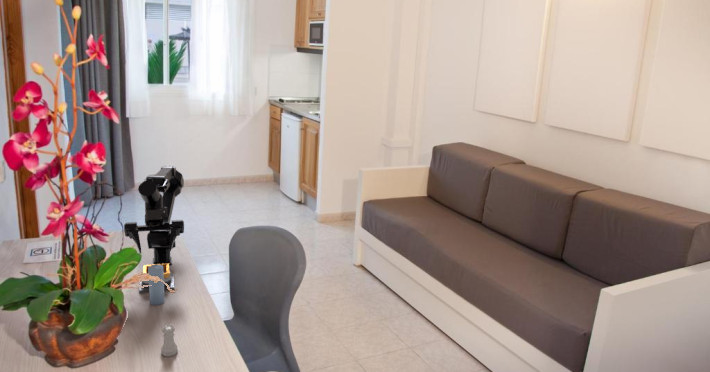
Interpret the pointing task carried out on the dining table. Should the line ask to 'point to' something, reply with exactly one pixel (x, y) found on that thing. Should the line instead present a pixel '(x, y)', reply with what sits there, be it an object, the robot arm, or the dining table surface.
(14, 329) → the dining table surface
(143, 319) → the dining table surface
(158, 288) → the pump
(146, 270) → the open square bin
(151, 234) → the robot arm
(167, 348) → the rook chess piece
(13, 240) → the dining table surface
